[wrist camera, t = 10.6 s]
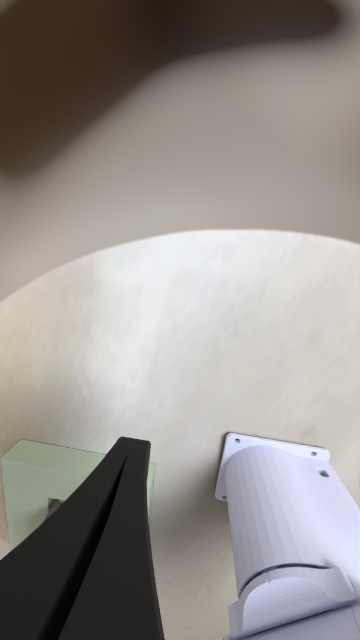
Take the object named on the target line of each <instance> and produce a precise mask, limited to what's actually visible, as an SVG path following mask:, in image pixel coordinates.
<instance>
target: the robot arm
mask: <svg viewBox="0 0 360 640" xmlns="http://www.w3.org/2000/svg"><path fill="white" fill-rule="evenodd" d="M235 439H239V440H235ZM150 448H151V443H150V442H149V441H146V440H139V439H133V438H127V437H120V438H119V439H118V440H117V442H116V443H115V444H114V446H113V447H112V448H111V450H110V451H109V452H108V453H107V455H106V456H105V457H104V458H103V459H102V461H101V462H100V463H99V464H98V465H97V467H96V468H95V469H94V470H93V471H92V472H91V473H90V474H89V476H88V477H87V478H86V479H85V480H84V481H83V482H82V483H81V485H80V486H79V487H78V488H77V489H76V490H75V491H74V492H73V493H72V494H71V495H70V496H69V497H68V498H67V499H66V500H65V501H64V502H63V503H62V504H61V505H60V506H59V507H58V508H57V509H56V510H55V511H54V512H53V513H52V514H51V515H50V516H49V517H48V518H47V519H46V520H45V521H44V522H43V523H42V524H41V525H40V526H39V527H37V528H36V529H35V530H34V531H33V532H32V533H31V534H30V535H29V536H28V537H27V538H25V539H24V540H23V541H22V542H21V543H20V544H19V545H17V546H16V547H15V548H14V549H13V550H12V551H11V552H9V553H8V554H7V555H6V556H5V557H4V558H2V559H1V560H0V640H165V639H164V633H163V627H162V621H161V615H160V608H159V602H158V596H157V590H156V583H155V576H154V568H153V561H152V552H151V544H150V533H149V522H148V506H147V477H148V468H149V458H150ZM312 452H313V453H312ZM329 459H330V453H329V451H328V450H327V449H324V448H318V447H313V446H307V445H301V444H295V443H289V442H283V441H277V440H271V439H265V438H259V437H253V436H247V435H241V434H236V433H229V434H227V436H226V440H225V445H224V450H223V455H222V460H221V465H220V470H219V475H218V479H217V484H216V489H215V498H216V499H218V500H221V501H226V502H227V504H228V513H229V522H230V530H231V539H232V548H233V557H234V566H235V575H236V583H237V592H238V601H236V602H235V603H233V604H231V605H229V619H230V631H231V634H229V635H227V636H226V637H225V638H224V639H223V640H360V509H359V508H358V506H357V504H356V503H355V501H354V500H353V498H352V497H351V495H350V494H349V492H348V491H347V489H346V488H345V486H344V485H343V483H342V482H341V480H340V479H339V477H338V476H337V474H336V473H335V471H334V470H333V468H332V467H331V465H330V464H329Z"/></svg>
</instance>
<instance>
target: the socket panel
mask: <svg viewBox="0 0 360 640" xmlns="http://www.w3.org/2000/svg"><path fill="white" fill-rule="evenodd" d="M105 456H106V455H105V454H100V453H94V452H89V451H83V450H78V449H72V448H67V447H61V446H56V445H50V444H45V443H39V442H34V441H28V440H23V439H21V440H20V441H19V442H18V443H17V444H16V445H15V446H14V447H12V448H11V449H10V450H9V451H8V452H7V453H6V454H5V455H4V456H3V457H2V458H1V469H2V478H3V487H4V497H5V506H6V515H7V525H8V534H9V543H10V552H11V551H12V550H13V549H14V548H15V547H16V546H17V545H19V544H20V543H21V542H22V541H23V540H24V539H25V538H27V537H28V536H29V535H30V534H31V533H32V532H33V531H34V530H35V529H36V528H37V527H39V526H40V525H41V524H42V522H43V521H44V519H45V517H46V516H47V514H48V513H49V511H50V509H51V508H52V506H53V505H54V503H55V502H59V500H64V501H65V500H66V499H67V498H68V497H69V496H70V495H71V494H72V493H73V492H74V491H75V490H76V489H77V488H78V487H79V486H80V485H81V483H82V482H83V481H84V480H85V479H86V478H87V477H88V476H89V474H90V473H91V472H92V471H93V470H94V469H95V468H96V467H97V465H98V464H99V463H100V462H101V461H102V459H103V458H104V457H105ZM155 466H156V464H155V463H149V468H148V477H147V506H148V522H149V520H150V511H151V502H152V493H153V484H154V475H155Z"/></svg>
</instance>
